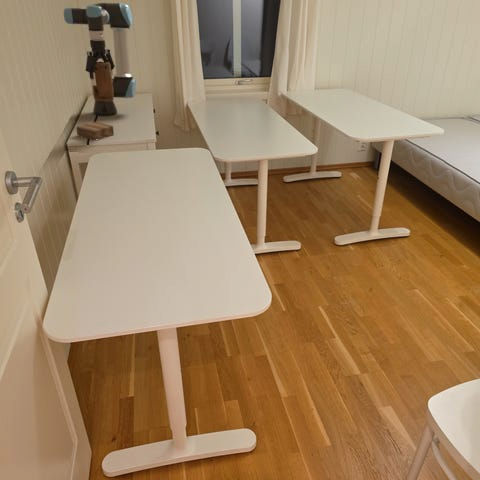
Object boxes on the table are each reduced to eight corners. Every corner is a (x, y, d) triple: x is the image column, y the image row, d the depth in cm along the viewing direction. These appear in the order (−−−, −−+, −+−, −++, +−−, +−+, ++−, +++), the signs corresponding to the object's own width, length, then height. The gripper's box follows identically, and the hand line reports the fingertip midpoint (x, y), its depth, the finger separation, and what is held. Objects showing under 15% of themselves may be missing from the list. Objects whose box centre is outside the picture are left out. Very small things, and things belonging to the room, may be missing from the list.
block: (114, 99, 251) (110, 61, 241) (114, 102, 245) (110, 63, 235) (94, 99, 249) (89, 61, 239) (93, 102, 242) (88, 63, 232)
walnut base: (97, 130, 263) (95, 121, 260) (113, 134, 256) (112, 126, 254) (77, 135, 252) (76, 126, 250) (94, 140, 246) (93, 131, 243)
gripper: (84, 42, 221) (90, 87, 232) (119, 38, 239) (122, 81, 250) (74, 40, 224) (80, 85, 235) (108, 37, 242) (113, 79, 253)
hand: (102, 83), depth 242 cm, fingers closed on block, 11 cm apart
